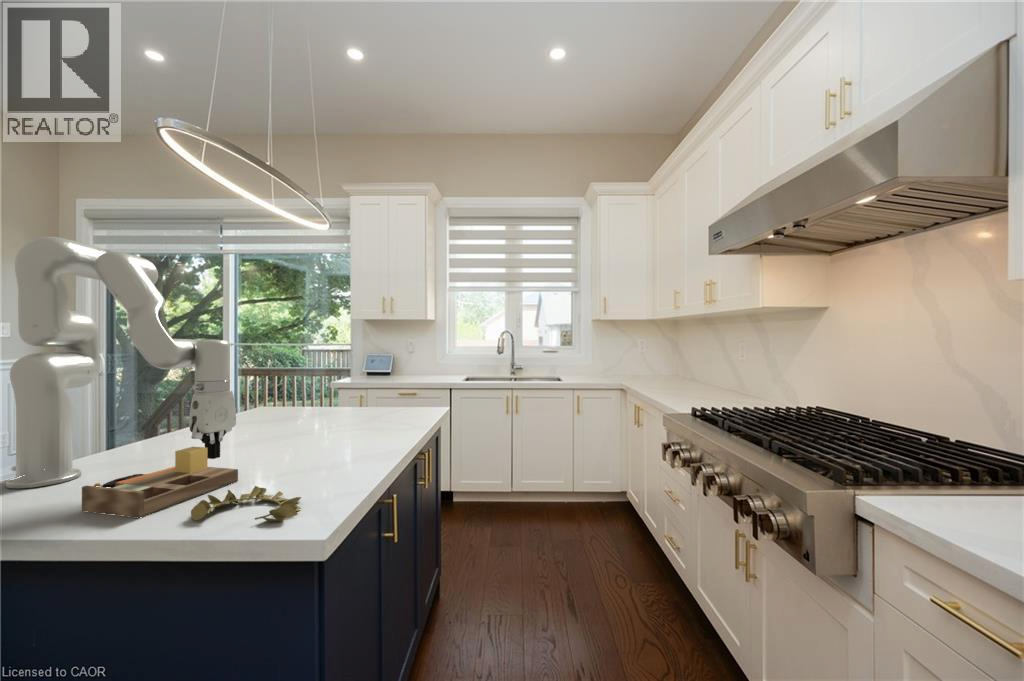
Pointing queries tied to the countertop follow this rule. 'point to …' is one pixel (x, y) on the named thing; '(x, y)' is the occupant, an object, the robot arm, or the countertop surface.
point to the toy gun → (131, 478)
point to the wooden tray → (155, 492)
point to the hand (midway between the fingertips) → (212, 457)
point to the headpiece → (282, 512)
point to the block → (191, 459)
